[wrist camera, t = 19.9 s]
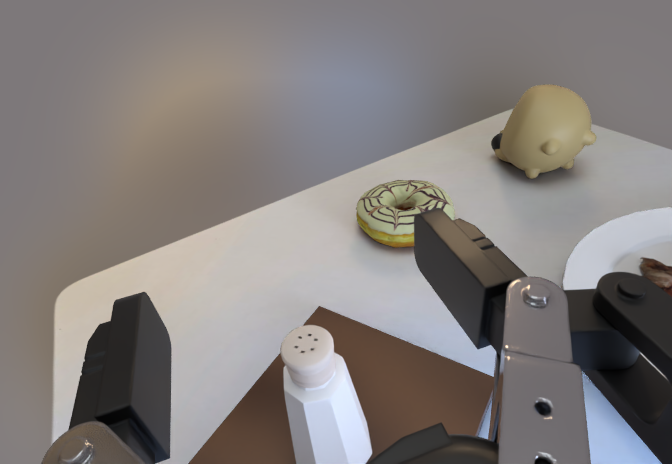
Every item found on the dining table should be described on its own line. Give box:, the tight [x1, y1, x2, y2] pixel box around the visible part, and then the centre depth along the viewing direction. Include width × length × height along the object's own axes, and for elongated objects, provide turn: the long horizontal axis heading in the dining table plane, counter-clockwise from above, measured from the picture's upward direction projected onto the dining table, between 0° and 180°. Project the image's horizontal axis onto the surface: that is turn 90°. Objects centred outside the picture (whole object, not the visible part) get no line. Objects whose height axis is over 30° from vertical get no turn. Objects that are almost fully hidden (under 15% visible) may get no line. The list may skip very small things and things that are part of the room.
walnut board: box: [188, 306, 494, 464], centre depth 29 cm, size 20×16×2 cm
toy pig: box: [491, 85, 596, 179], centre depth 53 cm, size 10×12×11 cm
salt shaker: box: [280, 325, 372, 464], centre depth 25 cm, size 5×5×11 cm
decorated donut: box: [356, 180, 455, 248], centre depth 48 cm, size 10×11×4 cm
